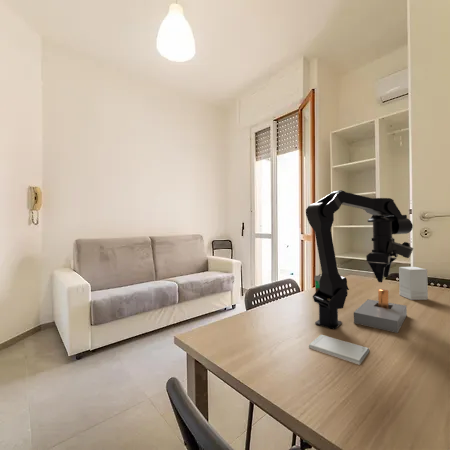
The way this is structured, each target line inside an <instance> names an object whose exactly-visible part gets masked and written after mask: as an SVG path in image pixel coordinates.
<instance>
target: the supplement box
mask: <svg viewBox="0 0 450 450" xmlns="http://www.w3.org/2000/svg"><path fill="white" fill-rule="evenodd" d="M398 277H399V278H398V279H399V280H398V282H399V286H398V287H399V291H398V292H399V296H401V297H403V298H406V299H408V300H411V301H412V300H417V301H418V300H419V301H421V300H423V301H425V300H426V301H427V300H428V299H429V298H428V297H429V294H428V292H429V289H428V284H429V283H428V269H427V268H421V267H418V266H399V267H398Z"/></svg>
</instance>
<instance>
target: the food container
mask: <svg viewBox="0 0 450 450" xmlns="http://www.w3.org/2000/svg"><path fill="white" fill-rule="evenodd" d="M321 275H322V273H319V274H318V275H314V285H315V293H316V292H317V290H318V289H319V281H320V278H321Z"/></svg>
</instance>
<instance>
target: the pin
mask: <svg viewBox="0 0 450 450" xmlns="http://www.w3.org/2000/svg"><path fill="white" fill-rule="evenodd" d="M377 295H378V296H377V298H378V299H377V301H378V307H381V308H386V309H389V304H388V303H389V290H388V289H385V288H378V291H377Z"/></svg>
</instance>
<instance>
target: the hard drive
mask: <svg viewBox="0 0 450 450" xmlns="http://www.w3.org/2000/svg"><path fill="white" fill-rule="evenodd" d="M308 348H309V349H311V350H314V351H317V352H320V353H323V354H326V355H329V356H332V357H336V358H338V359H340V360H344V361H346V362H350V363H352V364H356V365H359V366H360V365H361V364H362V362H363V361H364V360H365V358H366V357H367V356H368V354H369V352H370V348H369V347H366V346H362V345H360V344H356V343H353V342H352V343H351V342H349V341H346V340H345V341H344V340H341V339H339V338H335V337H331V336H328V335H323V334H319V336H318V337H316V338H315V339H314V340H312V342H310V343H309V344H308Z"/></svg>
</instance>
